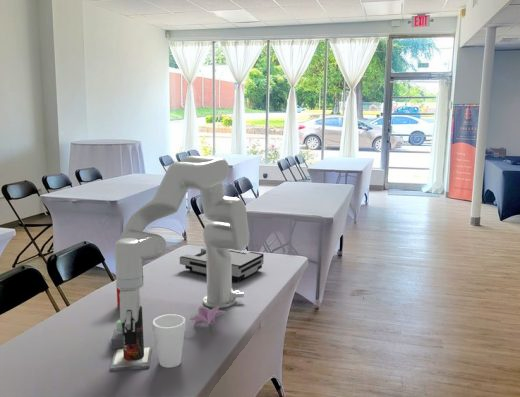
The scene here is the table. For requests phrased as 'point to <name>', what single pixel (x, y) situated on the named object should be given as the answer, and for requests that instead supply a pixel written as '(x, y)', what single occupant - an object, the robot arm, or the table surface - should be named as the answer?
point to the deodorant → (137, 349)
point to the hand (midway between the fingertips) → (132, 336)
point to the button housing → (117, 339)
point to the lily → (206, 315)
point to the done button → (119, 326)
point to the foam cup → (169, 338)
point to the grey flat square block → (123, 364)
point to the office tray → (240, 263)
